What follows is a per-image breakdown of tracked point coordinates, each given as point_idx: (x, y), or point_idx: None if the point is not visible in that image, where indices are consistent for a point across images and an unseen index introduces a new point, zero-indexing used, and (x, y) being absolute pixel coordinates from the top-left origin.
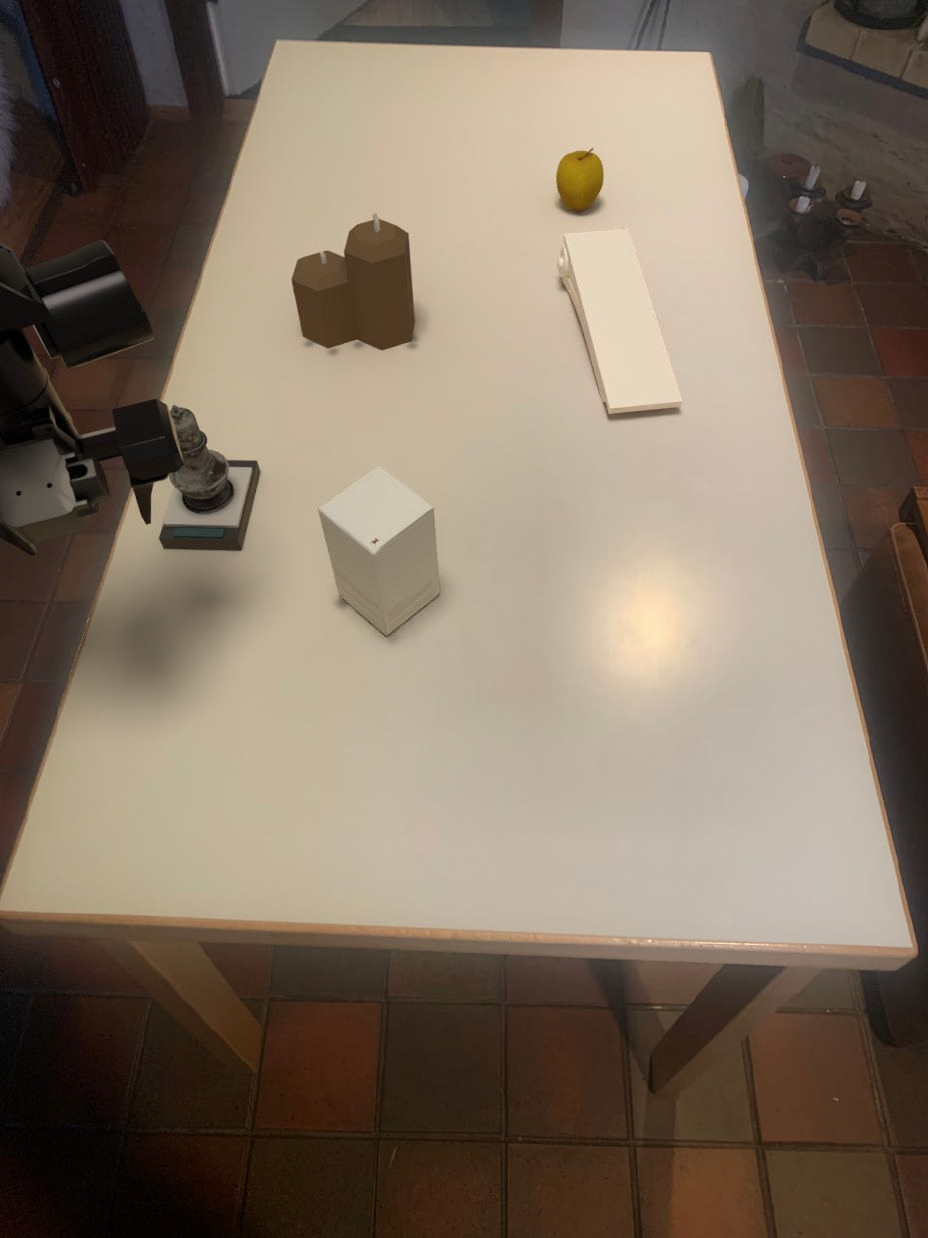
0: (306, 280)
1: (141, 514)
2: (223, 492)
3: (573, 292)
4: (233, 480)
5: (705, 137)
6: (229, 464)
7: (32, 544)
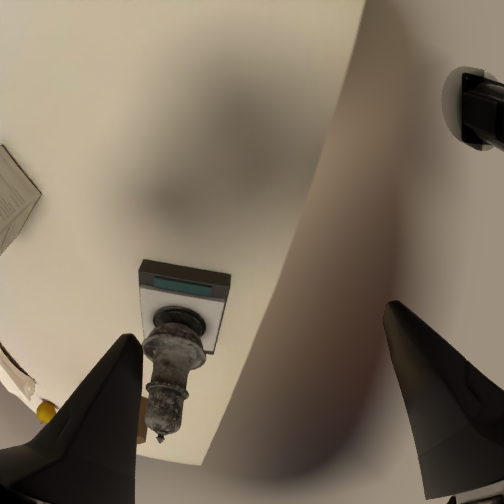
0: None
1: (113, 366)
2: (160, 324)
3: (18, 374)
4: None
5: (26, 403)
6: None
7: (392, 327)
